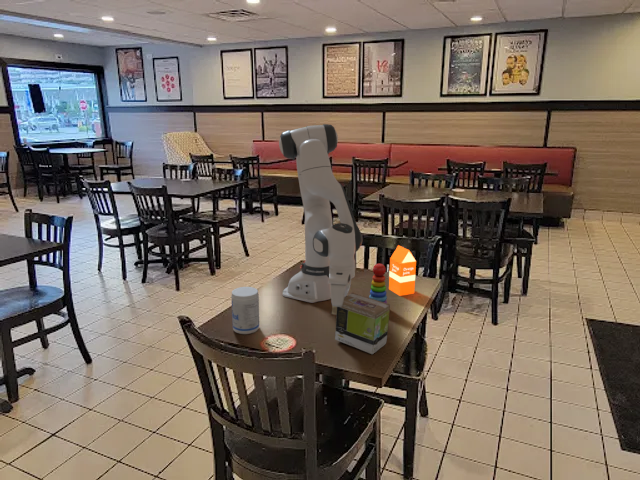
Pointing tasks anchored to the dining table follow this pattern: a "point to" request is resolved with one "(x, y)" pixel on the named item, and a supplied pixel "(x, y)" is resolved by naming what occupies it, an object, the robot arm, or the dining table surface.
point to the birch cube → (334, 310)
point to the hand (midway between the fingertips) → (341, 307)
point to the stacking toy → (378, 284)
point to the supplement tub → (245, 310)
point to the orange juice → (402, 272)
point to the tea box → (362, 323)
